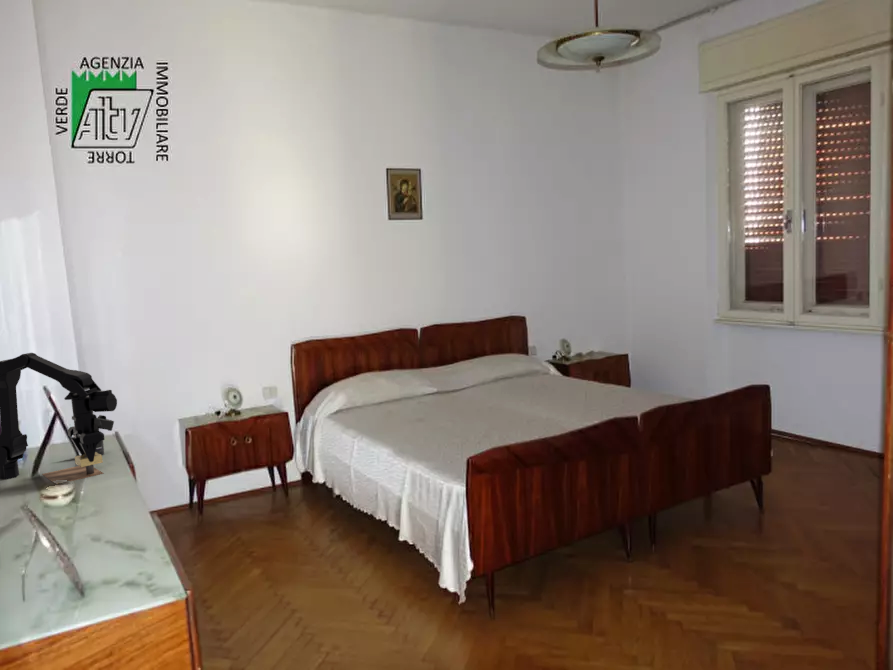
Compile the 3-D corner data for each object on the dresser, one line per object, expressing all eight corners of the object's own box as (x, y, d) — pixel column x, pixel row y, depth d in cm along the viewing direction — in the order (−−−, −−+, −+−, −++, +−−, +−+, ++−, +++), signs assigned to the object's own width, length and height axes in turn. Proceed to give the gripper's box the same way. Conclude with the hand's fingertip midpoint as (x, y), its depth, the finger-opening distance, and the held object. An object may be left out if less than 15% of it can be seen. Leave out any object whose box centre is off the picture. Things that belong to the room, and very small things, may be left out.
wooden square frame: (75, 463, 226) (74, 456, 225) (96, 459, 230) (95, 452, 230) (81, 467, 221) (80, 459, 221) (102, 462, 225) (101, 455, 225)
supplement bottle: (99, 461, 246) (95, 428, 245) (80, 462, 246) (76, 429, 245) (108, 456, 253) (105, 423, 252) (90, 457, 253) (86, 424, 252)
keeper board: (42, 478, 229) (39, 456, 228) (88, 468, 238) (85, 446, 238) (56, 489, 216) (53, 465, 215) (104, 477, 225) (102, 455, 224)
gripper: (118, 411, 222) (124, 458, 224) (101, 404, 236) (106, 449, 238) (80, 417, 215) (86, 467, 216) (64, 410, 229) (70, 457, 230)
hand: (88, 459), depth 225 cm, fingers closed on wooden square frame, 6 cm apart
